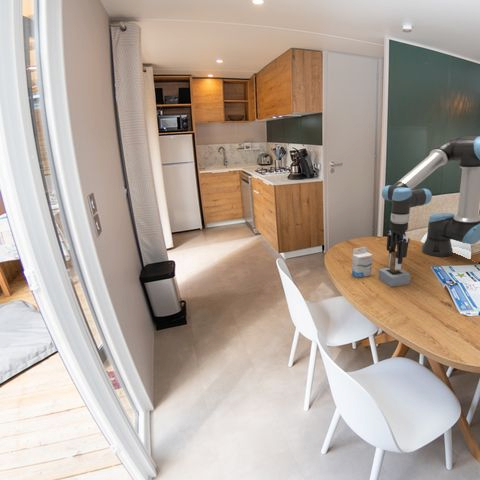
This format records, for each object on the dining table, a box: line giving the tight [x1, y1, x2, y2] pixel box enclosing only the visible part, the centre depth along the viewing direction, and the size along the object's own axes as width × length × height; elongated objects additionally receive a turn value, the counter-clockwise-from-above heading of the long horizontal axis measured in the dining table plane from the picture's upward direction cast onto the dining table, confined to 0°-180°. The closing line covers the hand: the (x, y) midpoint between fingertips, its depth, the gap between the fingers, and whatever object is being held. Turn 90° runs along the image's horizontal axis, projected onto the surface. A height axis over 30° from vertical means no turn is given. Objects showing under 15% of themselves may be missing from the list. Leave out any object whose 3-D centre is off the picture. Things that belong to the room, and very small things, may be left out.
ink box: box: [351, 246, 374, 279], centre depth 156 cm, size 8×5×15 cm, turn 102°
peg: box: [389, 250, 399, 275], centre depth 146 cm, size 4×4×12 cm
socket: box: [378, 266, 411, 288], centre depth 148 cm, size 10×10×5 cm
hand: (394, 267), depth 147 cm, fingers closed on peg, 4 cm apart
